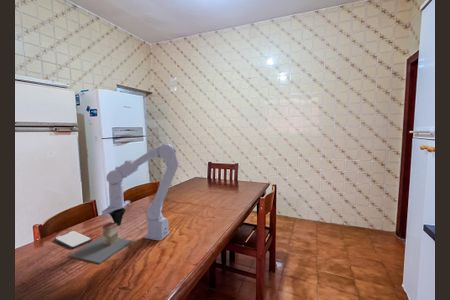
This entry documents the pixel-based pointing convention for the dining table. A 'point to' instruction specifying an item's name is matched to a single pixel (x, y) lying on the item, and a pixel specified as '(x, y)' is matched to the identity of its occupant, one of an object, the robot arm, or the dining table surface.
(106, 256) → the rubber mat
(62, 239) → the phone case
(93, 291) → the dining table surface
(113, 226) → the maple block
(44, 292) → the dining table surface
